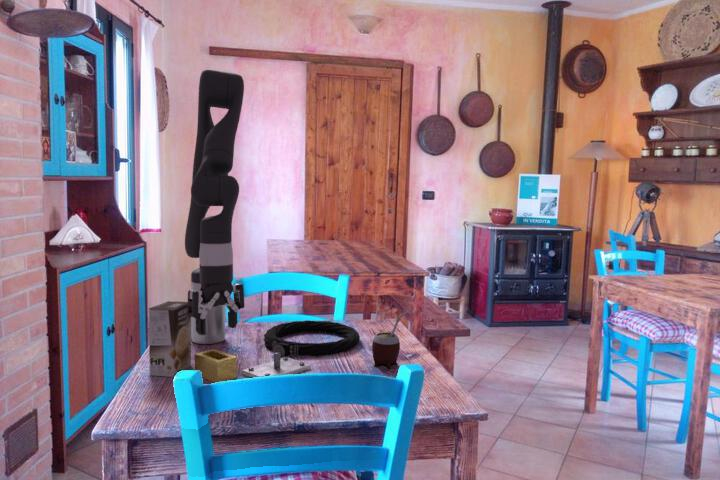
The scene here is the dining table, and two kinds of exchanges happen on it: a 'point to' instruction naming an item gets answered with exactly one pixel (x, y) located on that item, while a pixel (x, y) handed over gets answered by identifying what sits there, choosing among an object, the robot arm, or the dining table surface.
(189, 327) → the coffee box
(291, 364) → the plate
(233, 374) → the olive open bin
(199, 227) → the robot arm
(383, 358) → the mate gourd
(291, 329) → the cable lock
